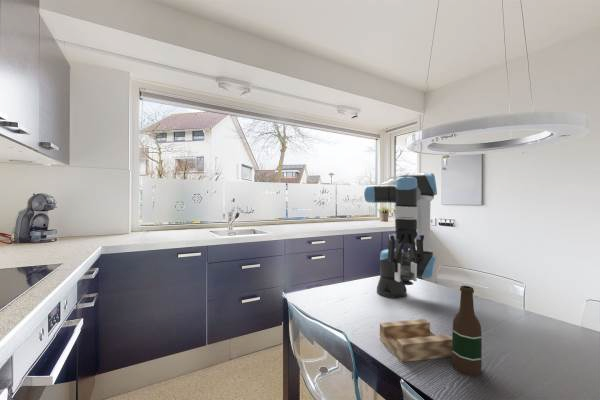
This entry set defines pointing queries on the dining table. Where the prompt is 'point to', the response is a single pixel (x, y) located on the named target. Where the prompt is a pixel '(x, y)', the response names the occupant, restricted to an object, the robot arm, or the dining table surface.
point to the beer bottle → (467, 336)
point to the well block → (414, 340)
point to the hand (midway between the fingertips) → (405, 280)
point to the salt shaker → (406, 270)
